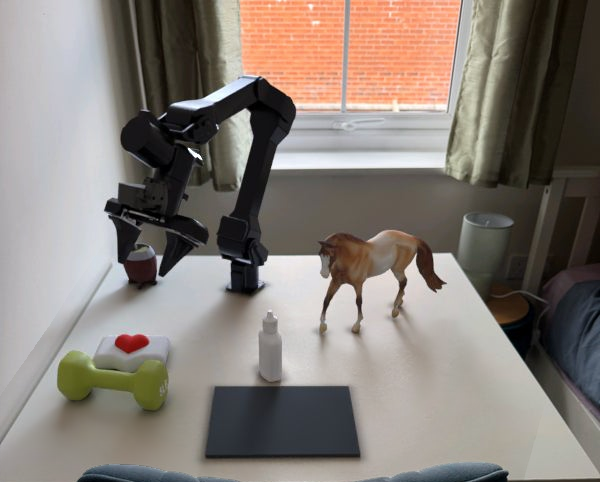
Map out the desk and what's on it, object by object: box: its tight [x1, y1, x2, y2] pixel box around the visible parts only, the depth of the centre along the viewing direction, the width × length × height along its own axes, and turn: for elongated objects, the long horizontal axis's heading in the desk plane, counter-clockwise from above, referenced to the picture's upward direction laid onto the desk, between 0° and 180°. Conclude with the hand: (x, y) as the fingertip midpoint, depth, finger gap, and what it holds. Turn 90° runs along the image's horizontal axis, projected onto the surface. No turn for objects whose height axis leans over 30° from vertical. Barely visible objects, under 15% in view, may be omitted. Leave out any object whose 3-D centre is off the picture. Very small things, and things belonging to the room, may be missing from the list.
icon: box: [92, 333, 171, 373], centre depth 103 cm, size 12×4×10 cm
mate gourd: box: [122, 242, 158, 290], centre depth 126 cm, size 8×8×15 cm
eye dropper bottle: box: [258, 309, 283, 383], centre depth 99 cm, size 4×6×12 cm
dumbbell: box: [56, 350, 170, 411], centre depth 93 cm, size 16×8×7 cm, turn 79°
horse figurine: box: [317, 229, 448, 334], centre depth 112 cm, size 31×8×21 cm, turn 123°
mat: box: [204, 385, 361, 459], centre depth 92 cm, size 17×22×1 cm
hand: (140, 269), depth 100 cm, fingers open, 9 cm apart
